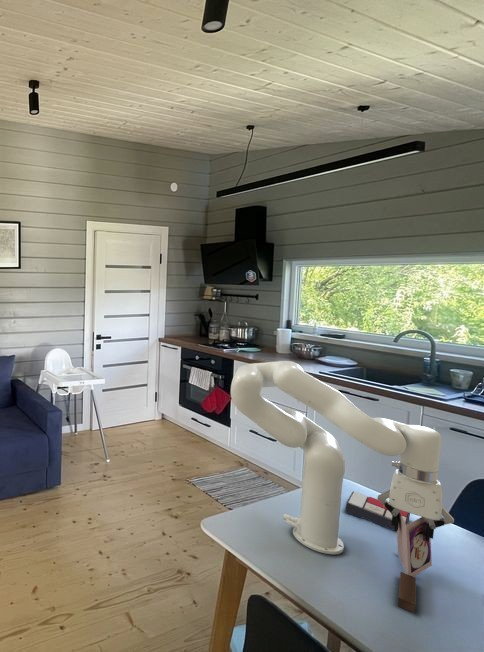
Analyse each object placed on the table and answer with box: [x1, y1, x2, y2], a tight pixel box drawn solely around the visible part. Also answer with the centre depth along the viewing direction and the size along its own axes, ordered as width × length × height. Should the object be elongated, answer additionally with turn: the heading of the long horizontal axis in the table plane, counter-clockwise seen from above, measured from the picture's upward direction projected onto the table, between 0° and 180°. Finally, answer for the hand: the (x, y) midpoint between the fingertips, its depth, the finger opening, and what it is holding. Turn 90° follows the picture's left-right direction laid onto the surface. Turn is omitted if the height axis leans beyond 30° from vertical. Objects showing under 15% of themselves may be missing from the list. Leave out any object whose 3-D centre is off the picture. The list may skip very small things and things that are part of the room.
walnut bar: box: [397, 571, 417, 614], centre depth 102 cm, size 3×12×2 cm, turn 135°
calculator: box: [344, 491, 411, 532], centre depth 134 cm, size 11×4×15 cm
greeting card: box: [396, 512, 433, 577], centre depth 111 cm, size 11×7×15 cm, turn 112°
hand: (411, 533), depth 111 cm, fingers closed on greeting card, 5 cm apart
